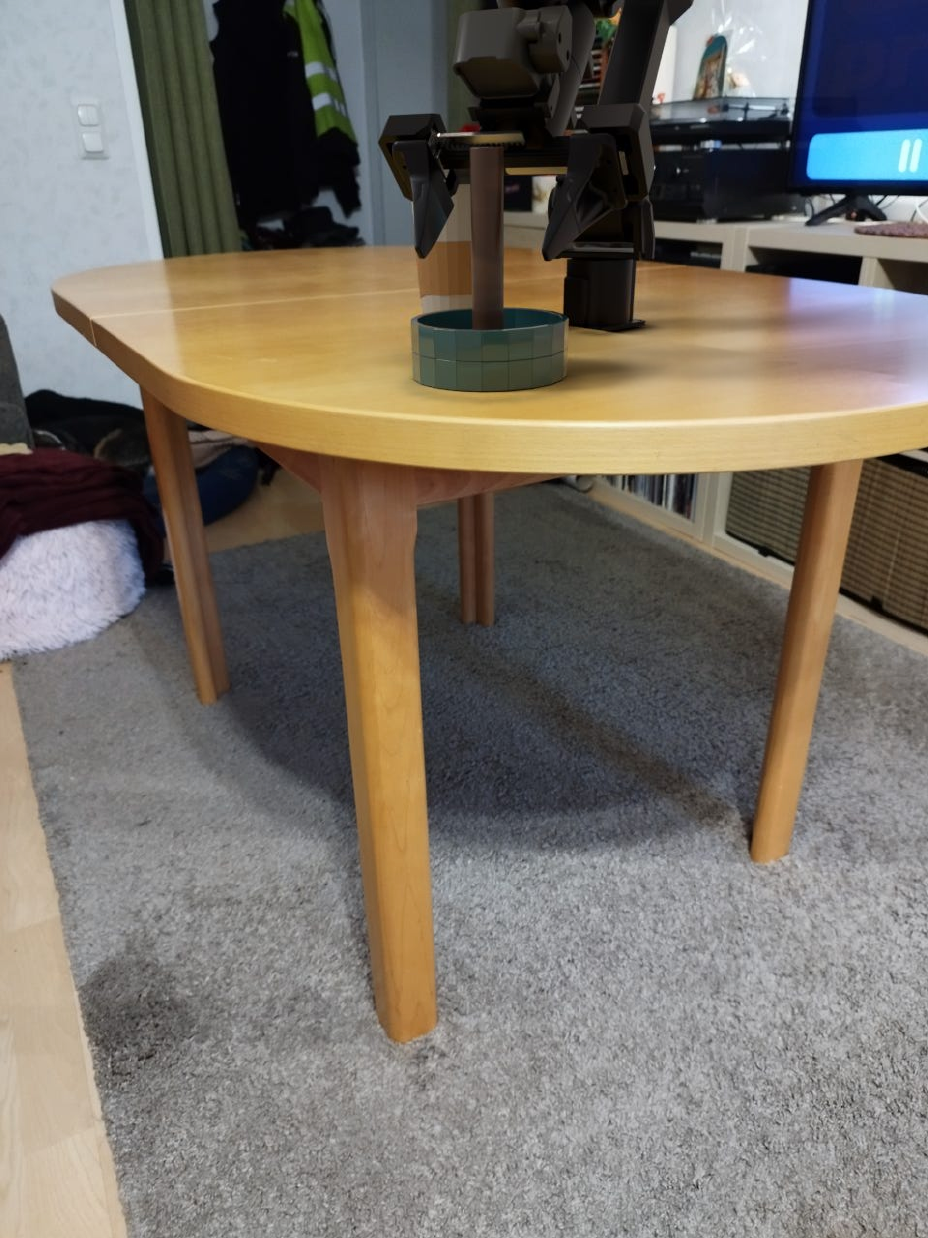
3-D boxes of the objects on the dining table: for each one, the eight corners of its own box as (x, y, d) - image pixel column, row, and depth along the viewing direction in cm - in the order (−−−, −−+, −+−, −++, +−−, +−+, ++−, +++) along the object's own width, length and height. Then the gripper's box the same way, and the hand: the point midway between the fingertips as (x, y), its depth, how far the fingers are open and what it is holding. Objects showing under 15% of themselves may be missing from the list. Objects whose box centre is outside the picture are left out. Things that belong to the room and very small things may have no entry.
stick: (492, 366, 67) (490, 147, 60) (531, 374, 64) (534, 145, 57) (445, 374, 65) (439, 148, 58) (484, 383, 61) (481, 145, 55)
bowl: (497, 362, 71) (497, 303, 69) (597, 383, 64) (601, 317, 62) (383, 382, 65) (380, 318, 63) (479, 408, 58) (478, 336, 56)
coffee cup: (493, 340, 81) (492, 153, 74) (404, 338, 82) (395, 155, 75) (507, 325, 88) (507, 154, 81) (425, 324, 89) (419, 156, 83)
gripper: (382, -22, 60) (307, 163, 56) (658, -54, 53) (593, 155, 49) (438, 117, 70) (377, 282, 66) (676, 106, 63) (623, 290, 59)
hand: (480, 255), depth 59 cm, fingers open, 9 cm apart
